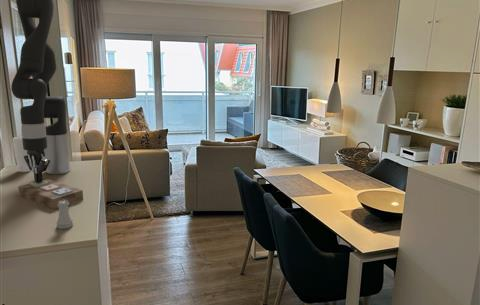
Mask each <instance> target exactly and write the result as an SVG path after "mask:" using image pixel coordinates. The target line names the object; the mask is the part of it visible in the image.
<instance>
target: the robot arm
mask: <svg viewBox="0 0 480 305" xmlns="http://www.w3.org/2000/svg"><path fill="white" fill-rule="evenodd" d="M15 2H16V3H15V4H16V8H17V13H18V16H19V20H20V23H21V27H22V31H23V35H24V40H25V41H24V42H23V43H22V45H21V50H20V58H19V66H18V68H17V70H16V72H15V75H14V77H13V79H12V82H11V85H10V88H11V92H12V94H13V96H14V97H15V98H17V99H19V100H33V103H32V104H31V105H26V106H22V107H21V108H20V110H19V114H20V121H21V122H20V123H21V130H20V131H21V136H22V142H23V149H24V150H27V155H26V156H24V159H25V161H26V163H27V165H28V167H29V169H30V170H31V171H32V173H33V176H34V177H33V178H34V180H33V181H35V182H36V183H41V182H43V180H44V178H43V173H44V172H46V173H47V174H49V175H61V174H66V173H69V172H70V171H71V166H70V156H69V155H70V153H69V152H70V151H69V139H68V129H67V128H68V127H67V126H68V125H67V105H66V99H65V98H64V96H48V95H47V94H48V85H49V82H50V81H51V79H52V78H53V77H54V75H55V73H56V71H57V62H56V55H55V50H54V49H53V48H52V46H51V44H50V43H49V42H48V37H49V34H50V28H51V25H52V21H53V15H54V9H55V8H54V0H15ZM34 19H39V21H38V23H37V25H36V24H35V21H34ZM31 77H32V78H31ZM45 119H57V121H55V122H54V123H52V124H49V125H47V126H46V125H45V124H46V122H45Z"/></svg>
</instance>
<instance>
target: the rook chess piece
mask: <svg viewBox="0 0 480 305" xmlns="http://www.w3.org/2000/svg"><path fill="white" fill-rule="evenodd" d="M69 205H70V204H69V202H68V201H67V200H66V201H65V200H63V201H62V200H60V201H58V204H57V206H58V207H59V208H57V210H58V212H59V213H58V218H57V221H56V228H57V229H59V230H67V229H70V228H72V227H73V225H74V222H73V221H74V220H73V219H72V217H71V216H70V213H69V212H70V211H69V209H70V207H69Z"/></svg>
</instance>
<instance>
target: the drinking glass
mask: <svg viewBox="0 0 480 305" xmlns="http://www.w3.org/2000/svg"><path fill="white" fill-rule="evenodd" d="M12 147H13V152H14V156H15V162H16V166H17V171H18V173H27V172H28V173H29V172H31V171H32V170H30V169H29V167H28V165H27V163H26V161H25V159H24V156H26V155H27V150H24V149H23V142H22V135H21V136H16V137H12Z"/></svg>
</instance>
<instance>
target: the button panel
mask: <svg viewBox="0 0 480 305" xmlns="http://www.w3.org/2000/svg"><path fill="white" fill-rule="evenodd" d="M43 181H46V182H48V185H51V184H53V185H56V186H59V187H60V188H59V189H62V188H66V189H69V190H72V192H71V193H68V194H65V195H61V196H58V195H55V194H53V193H52V191H55V190H59V189H55V190H52V191H48V192H47V191H44V190H41V188H40V187H44V186H47V185H44V186H40V187H37V188H36V187H33V186H30V185H29V183H26V184H23V185H18V186H17V188H18V190H17V191H18V196H19V197H21V198H24V199H27V200H29V201H32V202H35V203H37V204H40V205H43V206H45V207H48V208H50V209H52V210H55V209H59V207H58V206H57V204H58V201H60V200H62V201H63V200H65V201H66V200H67V201H68V202H69V205H70V204H73V203H76V202H79V201H82V200H84V192H83V189H81V188H80V189H79V188H77V187H73V186H70V185H68V184H64V183H61V182H58V181H56V180H53V179H49V178H46V179H43Z"/></svg>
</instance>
